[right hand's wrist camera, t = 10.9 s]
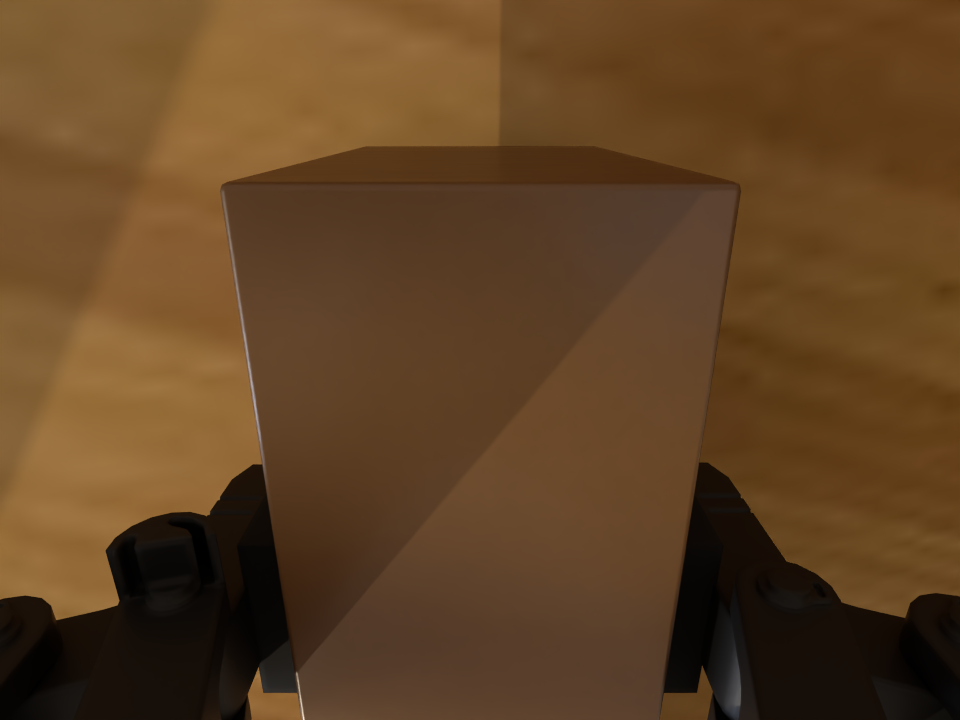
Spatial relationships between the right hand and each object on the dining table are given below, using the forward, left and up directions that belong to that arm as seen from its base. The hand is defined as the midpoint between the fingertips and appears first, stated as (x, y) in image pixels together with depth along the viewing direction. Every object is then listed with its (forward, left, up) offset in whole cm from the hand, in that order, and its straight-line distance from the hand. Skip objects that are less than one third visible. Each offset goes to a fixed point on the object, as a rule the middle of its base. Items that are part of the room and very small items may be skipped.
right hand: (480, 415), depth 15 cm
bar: (+18, +20, -1) cm, 27 cm away
